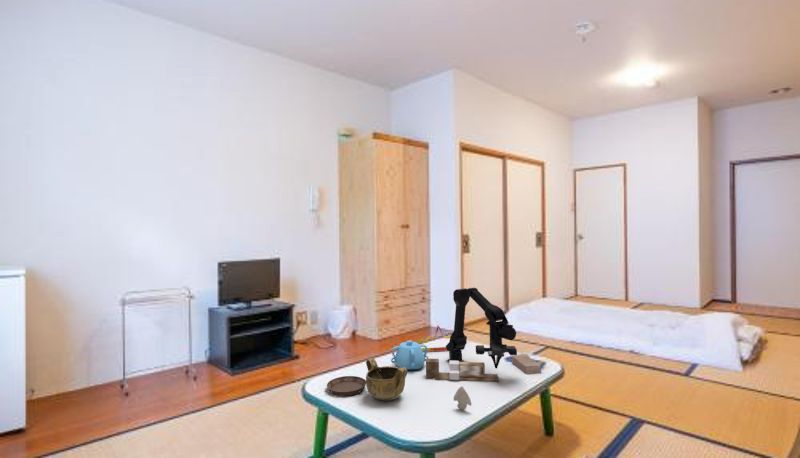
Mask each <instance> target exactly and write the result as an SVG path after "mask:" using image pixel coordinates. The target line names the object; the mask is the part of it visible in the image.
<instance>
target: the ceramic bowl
mask: <svg viewBox="0 0 800 458" xmlns="http://www.w3.org/2000/svg"><path fill="white" fill-rule="evenodd" d="M365 364H366V369H367V370H368V371H367V373H366V375H365V380H366V385H365V387H366V389H367V392H368V393H369V395H370V396H371V397H373V398H374V399H376V400H379V401H385V402H388V401H392V400H395V399H397V398H398V397H399V396H400V395H401V394H402V393H403V391H404V389H405V386H406V378H407V375H408V369H406V368H405V367H402V368H399V367H398V366H393V365H392V366H389V365H388V366H387V365H385V366H379V365H378V363H377V360H376V359H375V358H374V357H372V358H368V359H367V360H366V361H365Z"/></svg>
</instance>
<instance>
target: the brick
mask: <svg viewBox="0 0 800 458" xmlns="http://www.w3.org/2000/svg"><path fill="white" fill-rule="evenodd" d="M511 356H512V361H511V363H512V364H513V366H515V367H516V368H517V369H519V370H520V371H521V372H523V373H524V374H525V375H537V374H539V375H540V374H542V368H541V367H542V365H541V364H540V363H539V362H537V361H535V360H534V359H533V358H532V357H530V356H529V355H528V354H517V355H511Z"/></svg>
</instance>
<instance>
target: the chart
mask: <svg viewBox="0 0 800 458" xmlns="http://www.w3.org/2000/svg"><path fill="white" fill-rule="evenodd" d="M435 330H436V331H435V334H434V337H432V336H431V335H429V336H428V337H427V338H426V339H423V338H420V339H419V341H418V342H417V343H418V344H419V345H421V342H424V343H427V342H428V341H430V340H429V339H432V340H433V341H436V337H437V334H438V332H439V331H440V334H441V335H442V337H443V338H446V339H450V337H451V335H452V334H451V335H450V334H449V335H444V334H443V332H442V330H441V328H440V326H439V325H437V327H436V329H435ZM421 349H422V351H423V354H424V353H425V347H423V348H422V347H421ZM427 349H428V350H427V353H439V352H441V353H442V352H443V353H444V352H449V351H448V350H446V346H442V347H427Z"/></svg>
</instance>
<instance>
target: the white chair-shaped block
mask: <svg viewBox="0 0 800 458" xmlns="http://www.w3.org/2000/svg"><path fill="white" fill-rule="evenodd" d="M448 365H449V372H448V373H449V377H450V380H449V381H451V380H459V361H450V362H449V364H448Z"/></svg>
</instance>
